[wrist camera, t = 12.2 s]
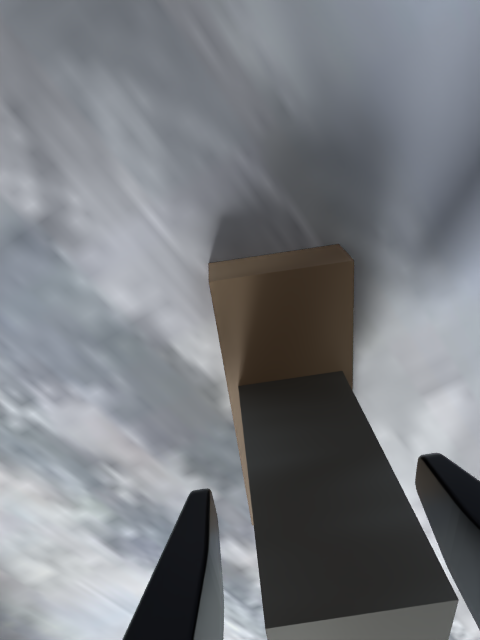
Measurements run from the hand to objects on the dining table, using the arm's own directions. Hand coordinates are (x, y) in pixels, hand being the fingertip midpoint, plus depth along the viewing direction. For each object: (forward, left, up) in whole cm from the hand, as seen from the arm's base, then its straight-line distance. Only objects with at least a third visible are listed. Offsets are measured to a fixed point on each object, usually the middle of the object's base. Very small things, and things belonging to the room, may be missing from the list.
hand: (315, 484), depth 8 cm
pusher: (0, 0, -3) cm, 3 cm away
